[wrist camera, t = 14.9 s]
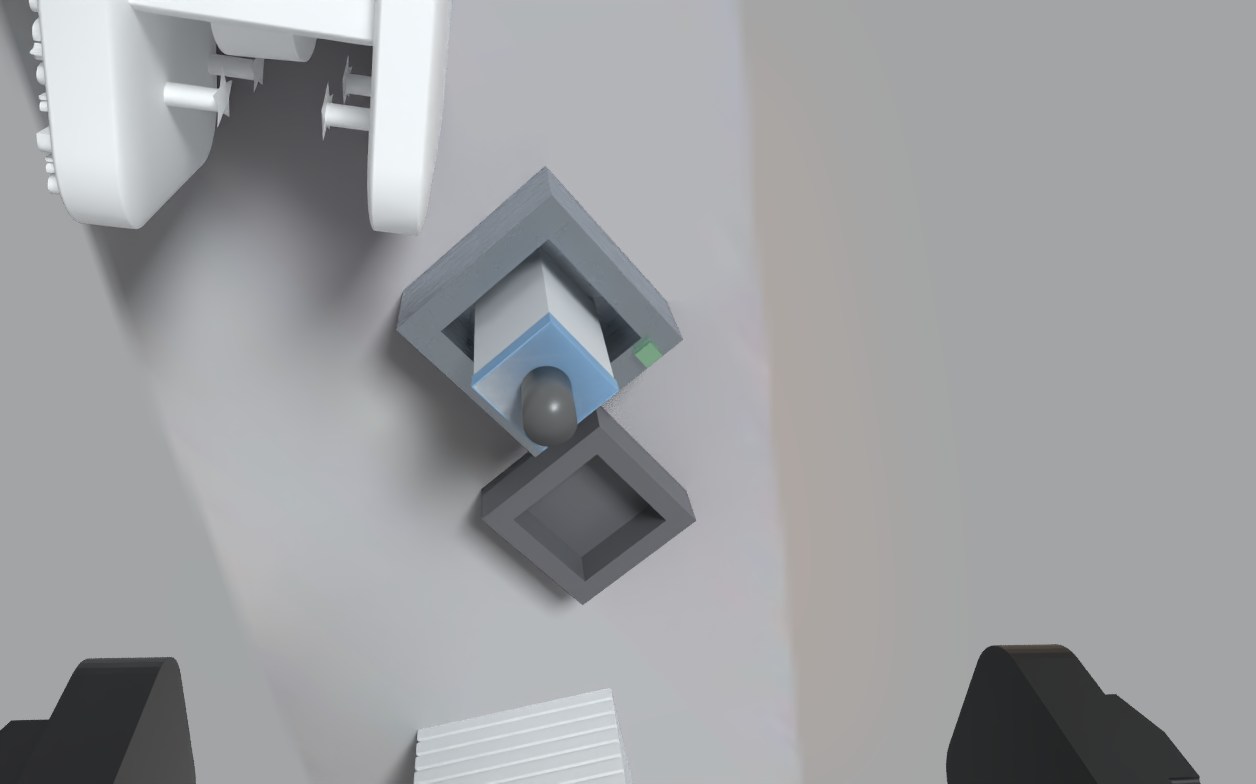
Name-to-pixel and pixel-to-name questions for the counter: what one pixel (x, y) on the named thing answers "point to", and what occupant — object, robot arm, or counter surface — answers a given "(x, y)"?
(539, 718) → the stack of papers
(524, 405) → the plug
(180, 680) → the robot arm
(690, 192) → the counter surface
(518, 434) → the port
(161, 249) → the counter surface
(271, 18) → the cable organizer
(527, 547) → the holster
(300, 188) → the counter surface
